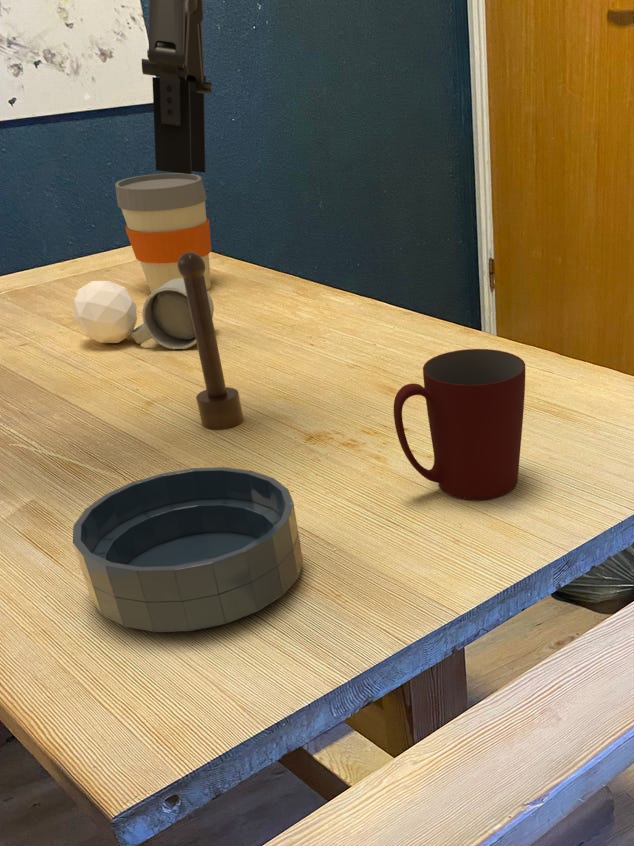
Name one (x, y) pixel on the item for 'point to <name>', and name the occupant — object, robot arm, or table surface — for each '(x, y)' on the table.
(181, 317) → the ceramic mug
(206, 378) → the muddler
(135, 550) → the bowl
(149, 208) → the reusable coffee cup
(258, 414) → the table surface
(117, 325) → the geometric ball
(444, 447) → the mug
